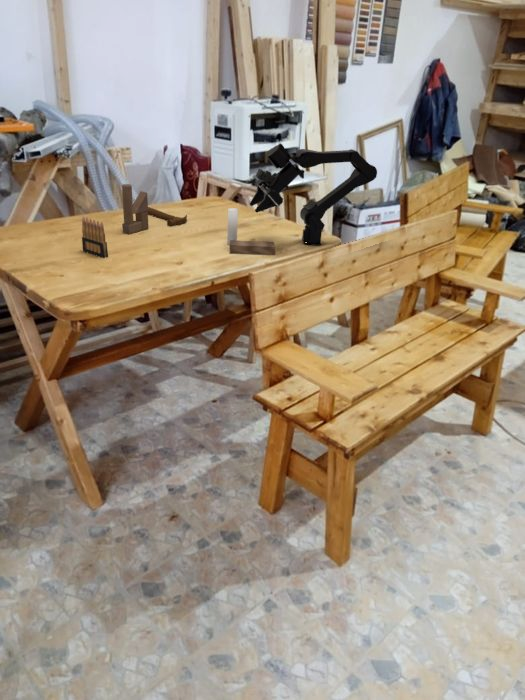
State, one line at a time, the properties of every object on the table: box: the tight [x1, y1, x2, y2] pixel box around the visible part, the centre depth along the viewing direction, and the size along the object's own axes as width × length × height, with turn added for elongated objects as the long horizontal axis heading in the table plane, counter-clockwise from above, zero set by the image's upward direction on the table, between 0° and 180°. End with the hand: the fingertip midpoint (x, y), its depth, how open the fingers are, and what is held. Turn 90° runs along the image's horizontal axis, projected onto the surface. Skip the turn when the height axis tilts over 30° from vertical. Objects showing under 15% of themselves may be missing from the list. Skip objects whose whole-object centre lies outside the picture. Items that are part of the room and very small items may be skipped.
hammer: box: [148, 206, 188, 228], centre depth 237 cm, size 12×3×30 cm
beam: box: [229, 239, 276, 256], centre depth 202 cm, size 16×6×3 cm, turn 94°
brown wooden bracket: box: [121, 183, 149, 235], centre depth 213 cm, size 4×11×18 cm, turn 147°
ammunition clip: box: [81, 216, 109, 259], centre depth 188 cm, size 11×2×12 cm, turn 56°
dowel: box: [226, 207, 239, 246], centre depth 206 cm, size 4×4×13 cm
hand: (252, 208), depth 205 cm, fingers open, 9 cm apart
